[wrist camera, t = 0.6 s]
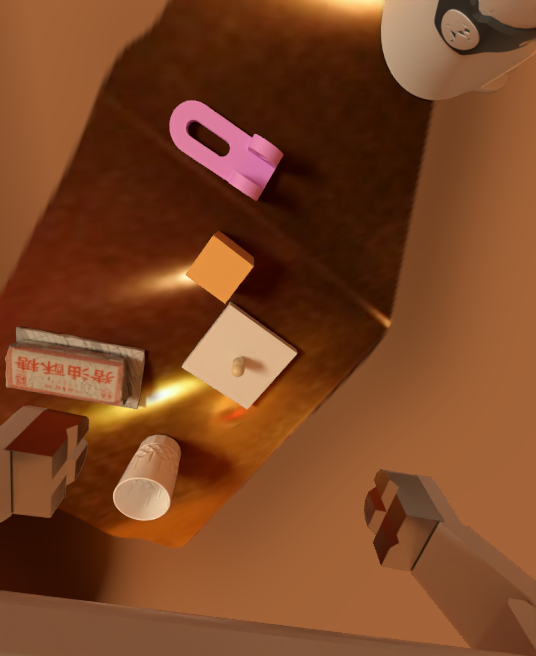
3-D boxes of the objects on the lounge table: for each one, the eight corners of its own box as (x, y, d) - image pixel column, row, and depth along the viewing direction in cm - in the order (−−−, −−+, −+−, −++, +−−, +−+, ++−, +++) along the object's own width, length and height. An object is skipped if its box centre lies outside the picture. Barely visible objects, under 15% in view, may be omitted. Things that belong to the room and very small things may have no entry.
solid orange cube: (219, 230, 45) (213, 235, 40) (254, 257, 47) (253, 266, 41) (194, 265, 47) (185, 274, 41) (229, 291, 48) (225, 303, 43)
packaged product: (0, 401, 49) (-4, 337, 45) (22, 383, 53) (20, 324, 50) (130, 422, 50) (136, 362, 47) (141, 404, 55) (147, 347, 52)
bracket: (280, 159, 43) (284, 153, 36) (257, 200, 44) (256, 201, 38) (186, 93, 40) (171, 73, 33) (164, 139, 42) (146, 128, 35)
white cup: (193, 445, 57) (180, 493, 48) (170, 476, 60) (153, 528, 50) (150, 423, 56) (128, 469, 46) (128, 456, 58) (103, 506, 49)
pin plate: (230, 301, 49) (227, 314, 44) (296, 349, 52) (300, 366, 46) (183, 362, 52) (175, 380, 47) (247, 404, 55) (246, 425, 50)
